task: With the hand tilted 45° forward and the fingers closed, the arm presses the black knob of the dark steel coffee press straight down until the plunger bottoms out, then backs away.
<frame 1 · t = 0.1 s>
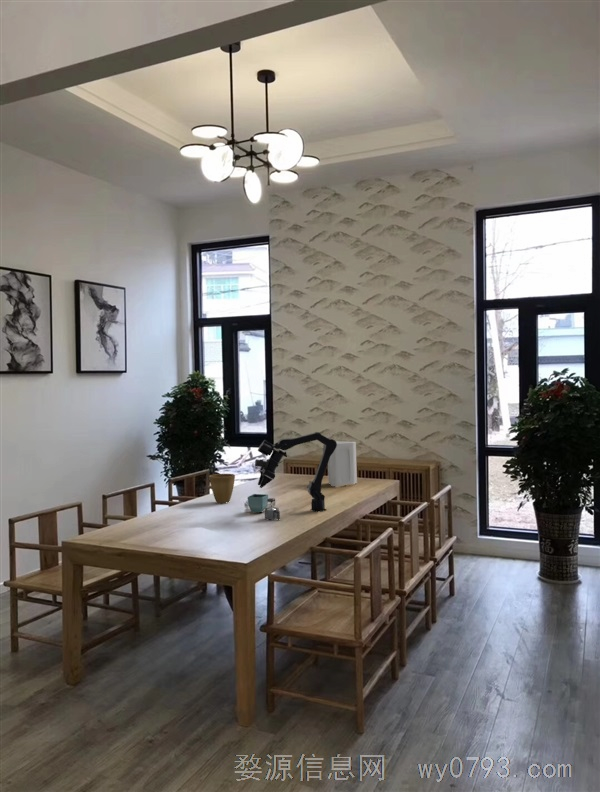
hand: (259, 486, 334), 15 cm above the table, tool tilted 30°, fingers open, 9 cm apart
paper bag: (339, 485, 416), on the table
press pot: (271, 518, 323), on the table
flower pot: (258, 512, 340), on the table
plant pot: (223, 502, 370), on the table
plunger: (271, 504, 323), point 7 cm above the table, slide at 0.0 cm
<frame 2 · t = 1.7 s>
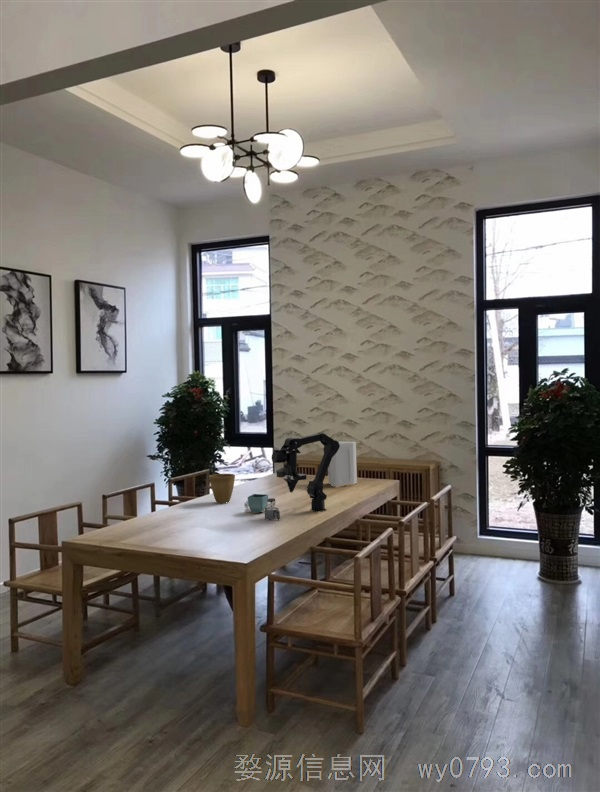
hand: (291, 492, 330), 12 cm above the table, tool pointing down, fingers closed
nothing on the table moved.
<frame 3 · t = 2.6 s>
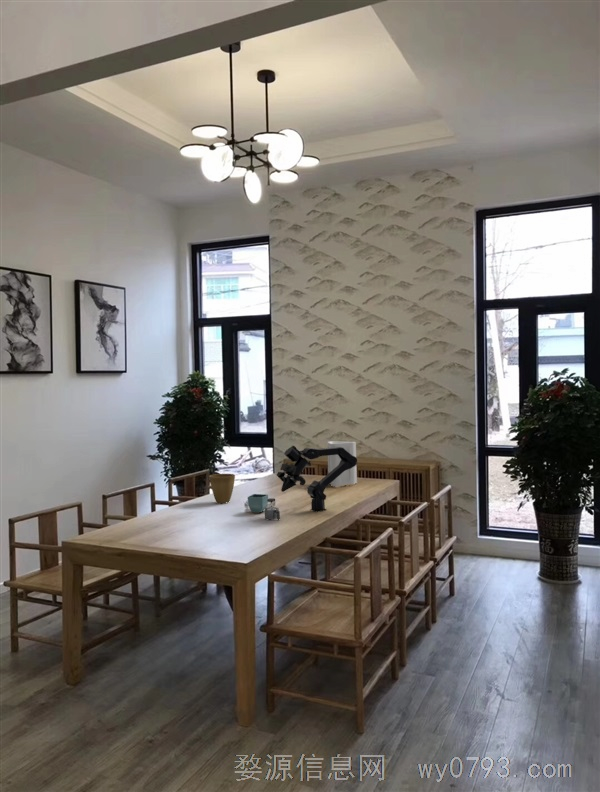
hand: (282, 491, 327), 13 cm above the table, tool tilted 45°, fingers closed
nothing on the table moved.
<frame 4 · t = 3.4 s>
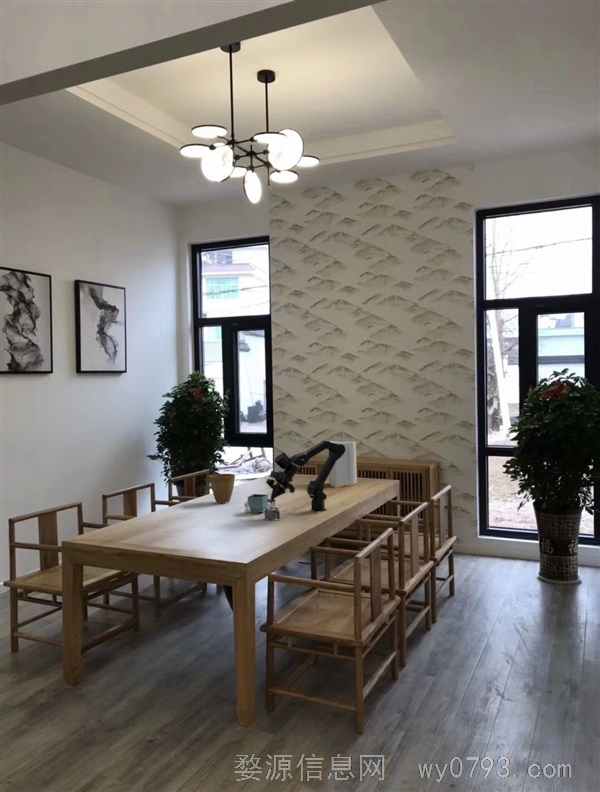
hand: (271, 498, 323), 10 cm above the table, tool tilted 45°, fingers closed, pressing on plunger
plunger: (271, 505, 323), point 7 cm above the table, slide at 0.3 cm, touching gripper
everything else where it was.
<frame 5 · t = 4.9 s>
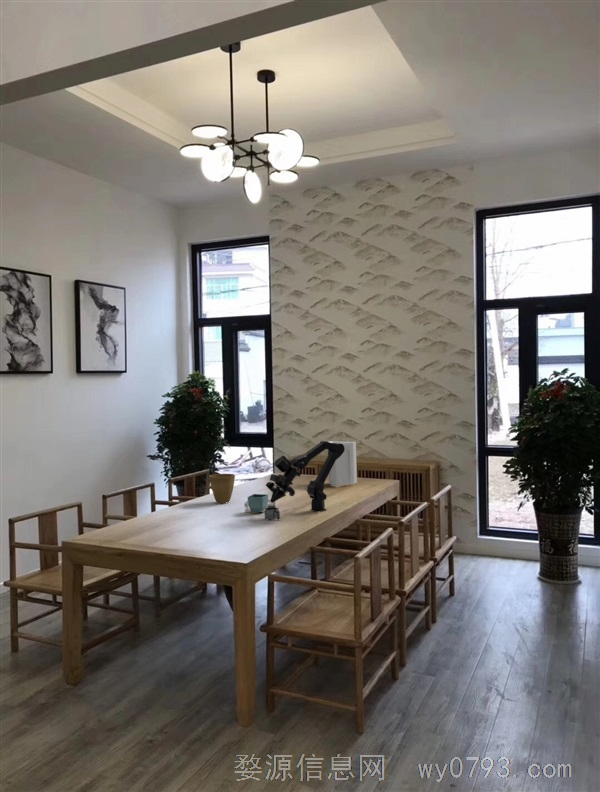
hand: (271, 502, 323), 8 cm above the table, tool tilted 45°, fingers closed
plunger: (271, 511, 323), point 4 cm above the table, slide at 3.5 cm
everything else where it was.
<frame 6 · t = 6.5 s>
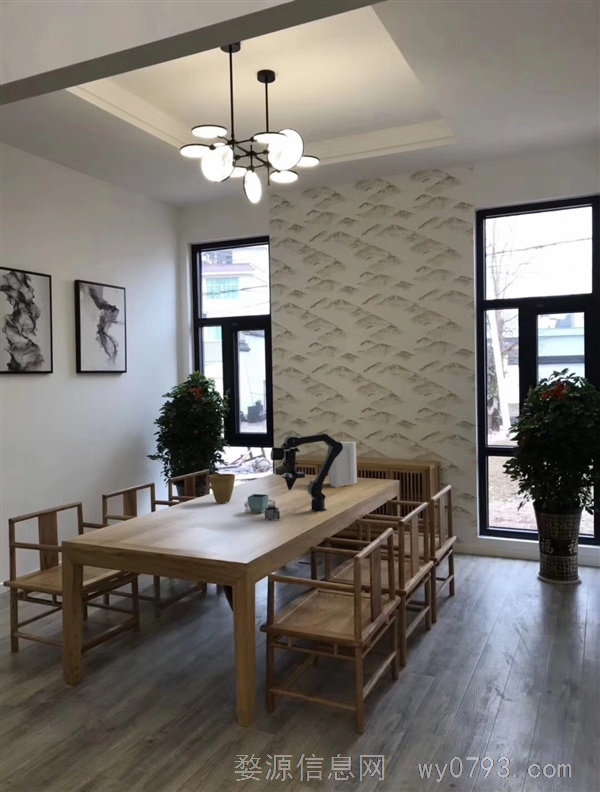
hand: (289, 489, 335), 12 cm above the table, tool pointing down, fingers closed
nothing on the table moved.
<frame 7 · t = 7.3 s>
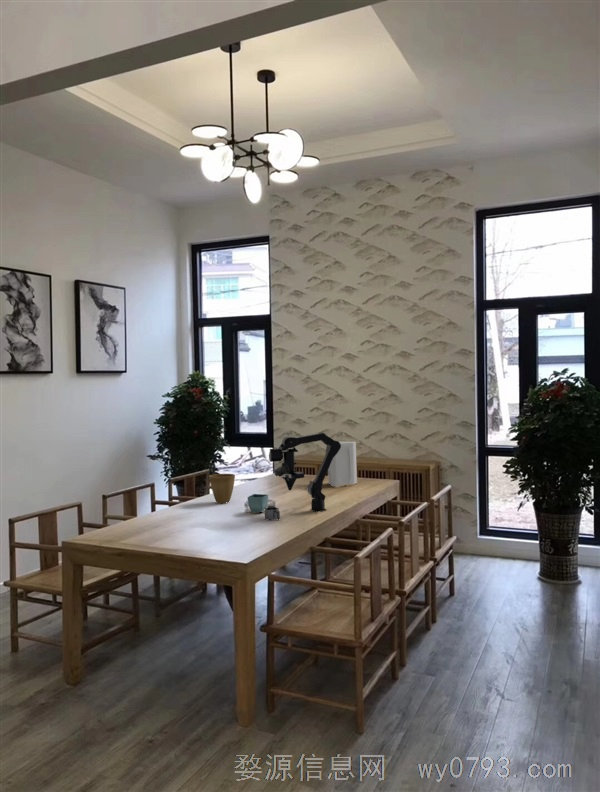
hand: (289, 490, 335), 12 cm above the table, tool pointing down, fingers closed
nothing on the table moved.
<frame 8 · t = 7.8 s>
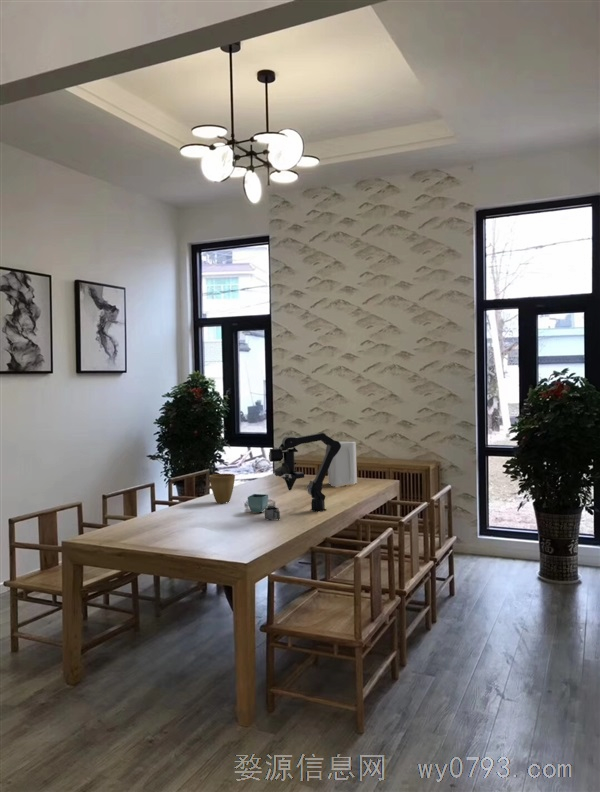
hand: (289, 490, 335), 12 cm above the table, tool pointing down, fingers closed
nothing on the table moved.
at the end: plunger slide at 3.5 cm; the gripper is holding nothing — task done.
